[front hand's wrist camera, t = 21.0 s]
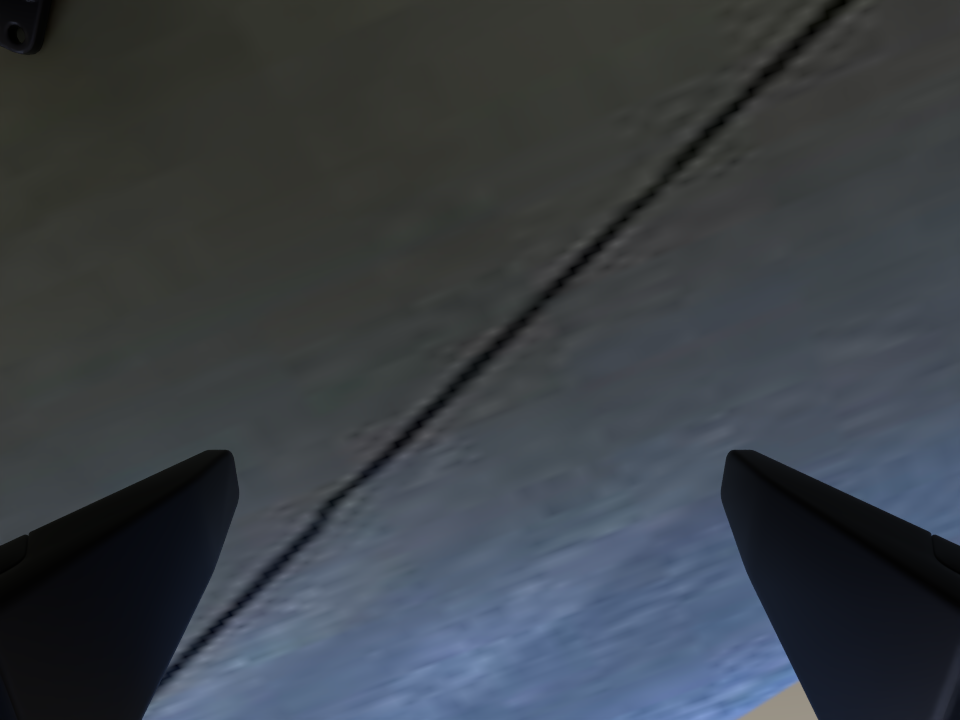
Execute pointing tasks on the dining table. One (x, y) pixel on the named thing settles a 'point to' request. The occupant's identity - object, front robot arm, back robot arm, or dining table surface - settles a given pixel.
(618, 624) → the dining table surface
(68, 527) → the front robot arm
